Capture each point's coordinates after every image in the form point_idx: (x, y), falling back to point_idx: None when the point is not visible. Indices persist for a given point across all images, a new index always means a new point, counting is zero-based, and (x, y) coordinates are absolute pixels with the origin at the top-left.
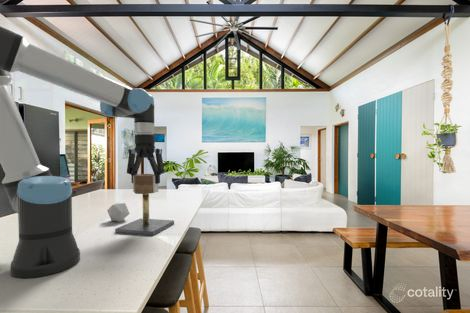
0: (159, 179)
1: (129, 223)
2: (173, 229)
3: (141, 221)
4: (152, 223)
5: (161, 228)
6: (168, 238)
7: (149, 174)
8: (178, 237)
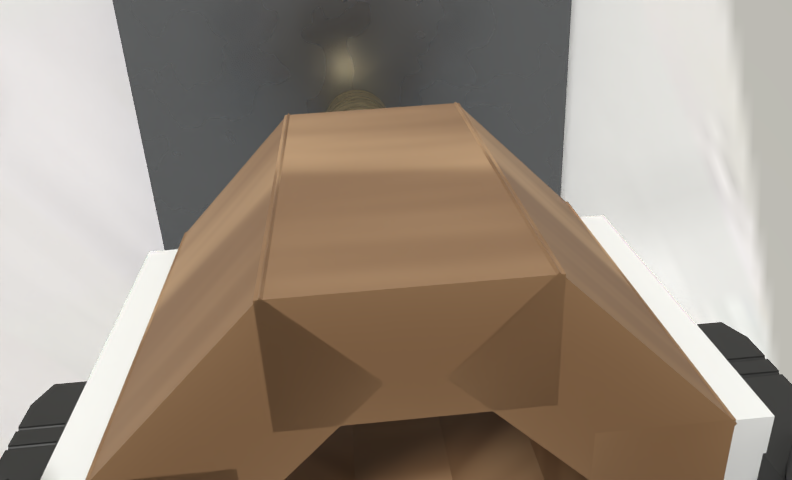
0: (779, 393)
1: (158, 143)
2: (639, 70)
3: (222, 32)
4: (400, 71)
5: (558, 157)
6: (689, 287)
7: (452, 411)
8: (756, 248)
